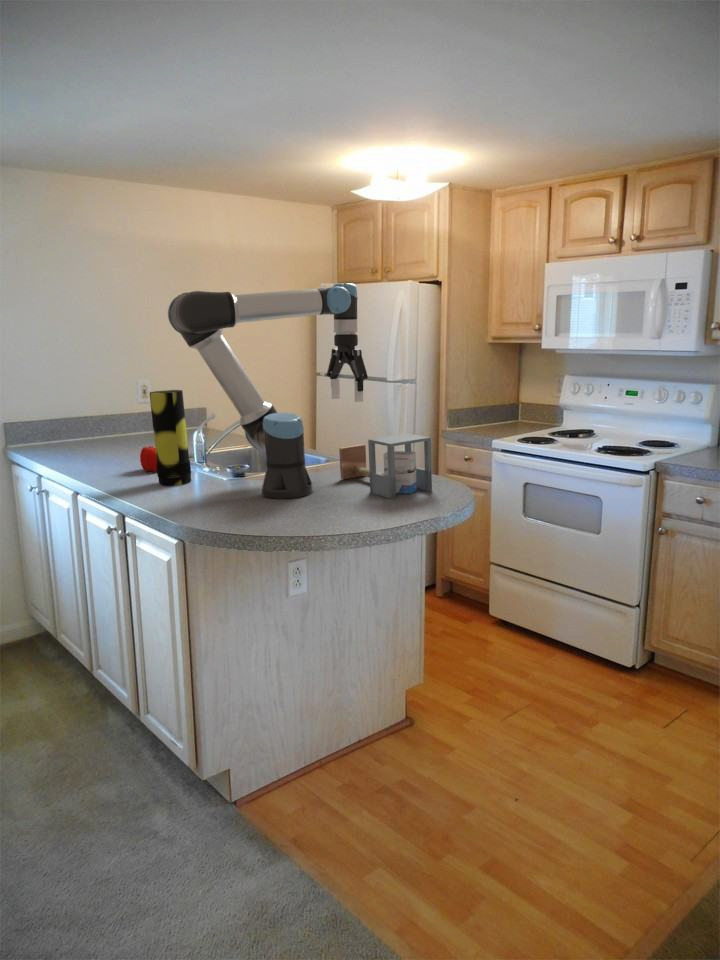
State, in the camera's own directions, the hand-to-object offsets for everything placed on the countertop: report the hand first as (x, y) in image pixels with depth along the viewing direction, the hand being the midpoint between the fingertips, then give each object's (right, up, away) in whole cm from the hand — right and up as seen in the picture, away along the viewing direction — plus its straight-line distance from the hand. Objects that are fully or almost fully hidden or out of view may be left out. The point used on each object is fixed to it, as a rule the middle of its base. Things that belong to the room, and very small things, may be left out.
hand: (347, 400), depth 229 cm
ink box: (+16, -30, -22) cm, 40 cm away
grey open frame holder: (+16, -29, -22) cm, 40 cm away
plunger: (+8, -27, -9) cm, 29 cm away
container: (-57, -27, +3) cm, 63 cm away
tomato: (-69, -23, +24) cm, 76 cm away
